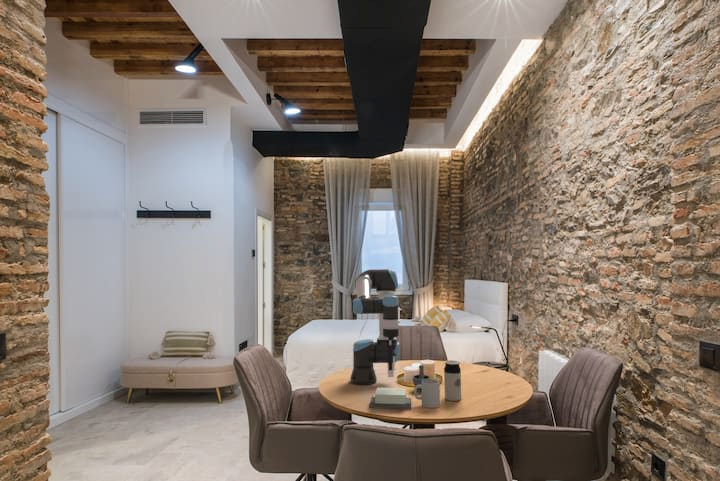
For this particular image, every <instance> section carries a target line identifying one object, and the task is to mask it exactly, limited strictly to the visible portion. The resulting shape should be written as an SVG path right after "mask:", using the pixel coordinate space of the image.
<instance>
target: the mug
mask: <svg viewBox="0 0 720 481" xmlns="http://www.w3.org/2000/svg"><path fill="white" fill-rule="evenodd" d="M440 385H441V384H440V381H439V380H437V379H433V378H431V379H425V380H422V384H421V385H417V386H415V387H414V391H413V394H414V398H415V399H417V400H418V401H419V400H420V401H421V406H422V407H424V408H427V409H438V408H439V407H441V395H440V394H441V393H440V392H441V391H440V390H441V389H440V388H441V386H440ZM418 388H421V389H422V392H421V395H418V394H417V392H418V391H417V389H418Z"/></svg>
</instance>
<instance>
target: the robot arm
mask: <svg viewBox="0 0 720 481" xmlns="http://www.w3.org/2000/svg"><path fill="white" fill-rule="evenodd" d="M355 287H356V289H357V290H356V298H354V299H353V300H352V312H353V314H355V315H356V314H359V315H367V314H368V315H369V314H371V315H372V314H373V315H374V314H378V323H379V324H378V327H379V329H378V331H379V333H378V334H379V335H378V337H377V338H376V341H374V340H373V339H370V338H368V339H367V338H366V339H361V340H356V341H355V342H354V343H353V345H352V346H353V348H352V352H353V354H352V355H353V358H352V359H353V360H352V364H353V365H352V367H353V368H352V371H351V375H350V377H349V379H350V380H349V381H350V383H351V384H353V385H358V386H359V385H360V386H366V385H367V386H368V385H373V384H376V383H377V382H378V381H377V378H378V377H377V375H376V372H375V367H374V364H387V378H394V376H395V375H394V374H395V373H394V371H395V370H396V369H395V368H396V367H395V366H396V365H395V364H396V363H397V362H398V359H399V356H400V342H399V341H398V339H397V337H399V335H400V334H399V331H400V329H399V324H400V323H401V322H400V320H399V297H398V295H394V294H395V293H396V292H397V289H398V288H399V283H398V277H397V272H396V270H395V269H391V268H389V269H387V268H386V269H385V268H384V269H383V268H381V269H373V268H372V269H367V270H365V271H363V272H361V273H360V274H359V275H358V276H357V277H356V279H355ZM372 290H375V293H376V294H377V295H378V298H372V292H371V291H372Z"/></svg>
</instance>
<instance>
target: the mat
mask: <svg viewBox="0 0 720 481" xmlns="http://www.w3.org/2000/svg"><path fill="white" fill-rule="evenodd" d="M369 406H370V407H369V408H371V409H373V408H376V409H377V408H378V409H379V408H380V409H404V410H405V409H406V410H407V409H408V410H411V409H412V397H406V404H386V403H375V396H371V399H370V401H369Z"/></svg>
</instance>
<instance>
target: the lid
mask: <svg viewBox="0 0 720 481" xmlns="http://www.w3.org/2000/svg"><path fill="white" fill-rule="evenodd" d="M375 390H376V391H375V393H374V397H375V403H386V404H406V398H407V388H406V387H404V388H403V387H376V389H375Z"/></svg>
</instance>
